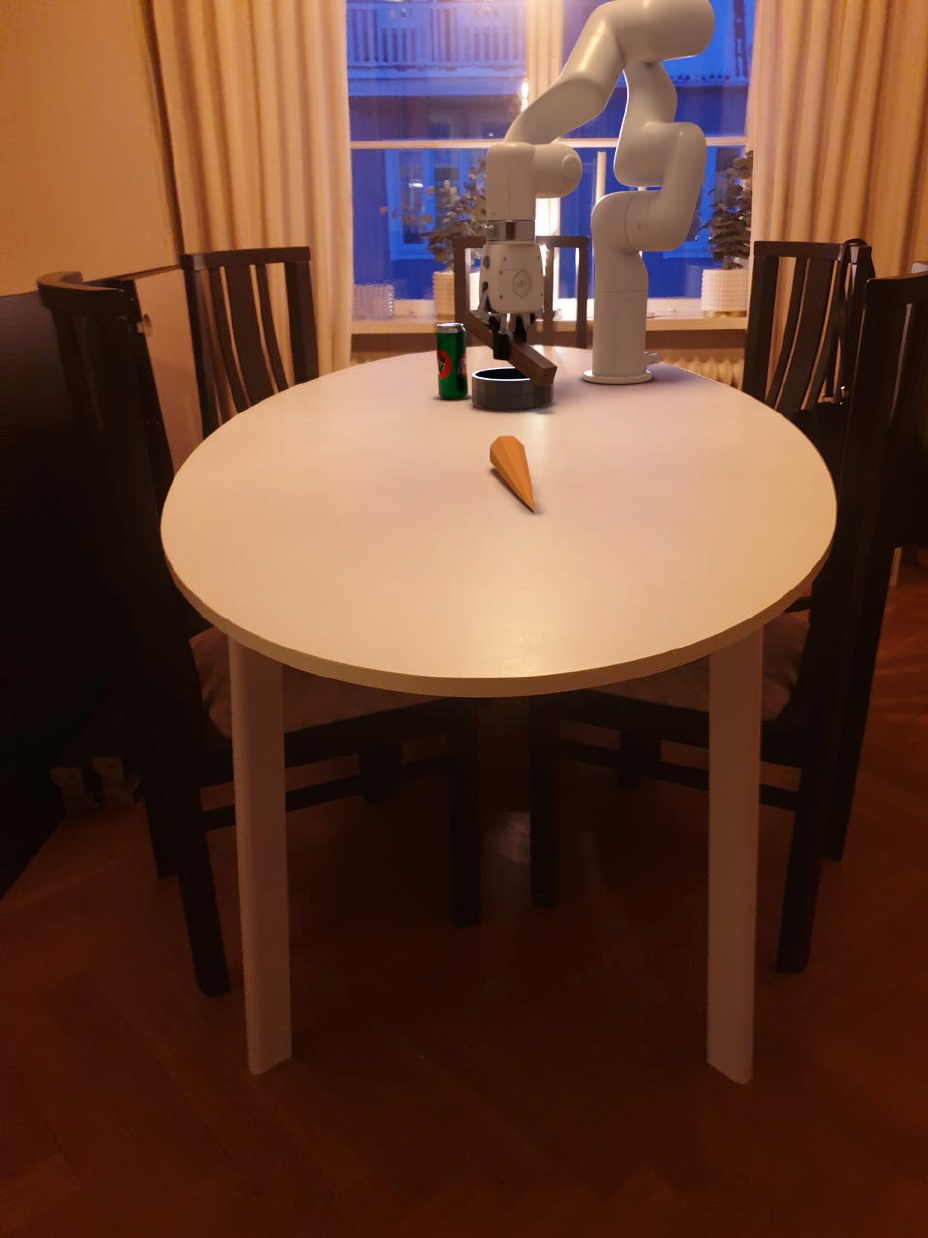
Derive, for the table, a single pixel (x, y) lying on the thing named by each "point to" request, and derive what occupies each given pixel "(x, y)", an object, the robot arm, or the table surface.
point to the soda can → (451, 361)
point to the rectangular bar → (516, 352)
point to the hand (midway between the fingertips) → (509, 357)
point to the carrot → (513, 466)
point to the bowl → (508, 390)
